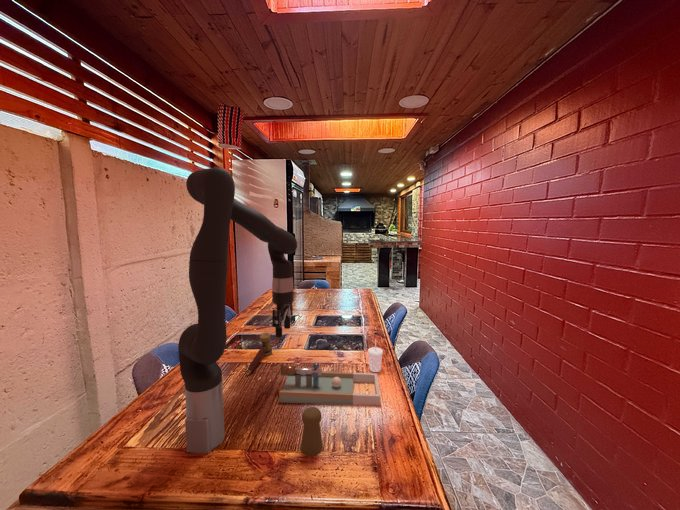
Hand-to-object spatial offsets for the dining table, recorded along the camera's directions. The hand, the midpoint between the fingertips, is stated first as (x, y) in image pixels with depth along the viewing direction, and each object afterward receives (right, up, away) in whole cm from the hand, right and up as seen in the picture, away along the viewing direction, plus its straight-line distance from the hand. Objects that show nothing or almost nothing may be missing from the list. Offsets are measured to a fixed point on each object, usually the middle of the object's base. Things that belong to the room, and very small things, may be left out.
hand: (283, 332), depth 101 cm
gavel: (-14, -20, +20) cm, 32 cm away
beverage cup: (+35, -20, +14) cm, 43 cm away
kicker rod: (+7, -18, -1) cm, 20 cm away
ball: (+20, -17, -2) cm, 26 cm away
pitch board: (+18, -21, -1) cm, 28 cm away
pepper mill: (+13, -24, -26) cm, 38 cm away
